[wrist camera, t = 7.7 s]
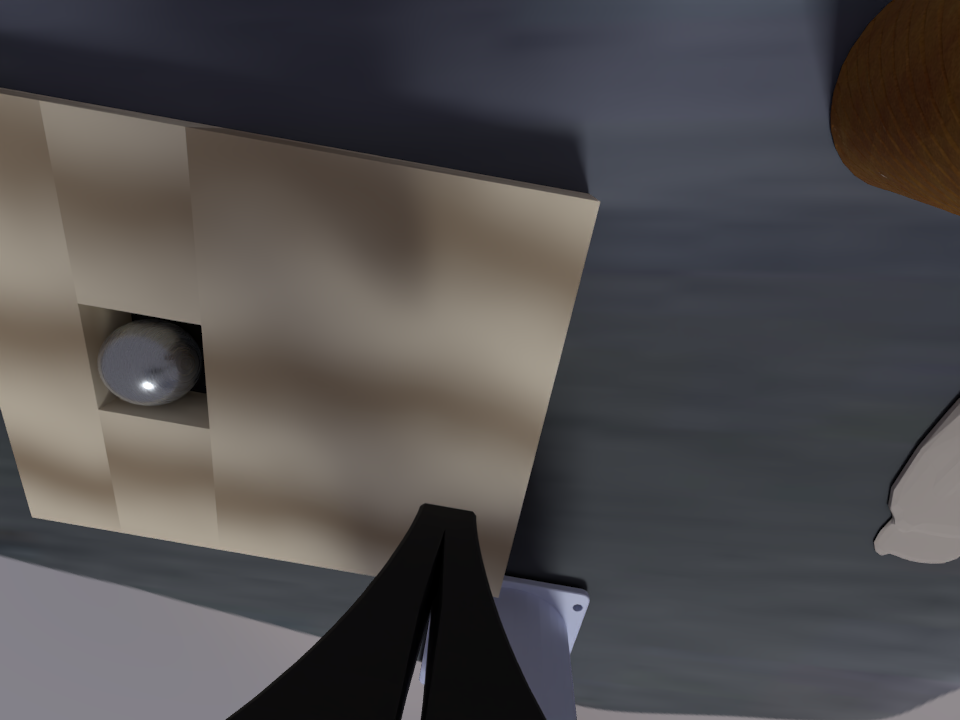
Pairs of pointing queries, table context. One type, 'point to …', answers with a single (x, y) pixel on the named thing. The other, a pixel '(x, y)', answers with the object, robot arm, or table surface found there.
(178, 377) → the steel ball
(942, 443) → the beige bookend
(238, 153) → the birch plate
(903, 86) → the disposable coffee cup
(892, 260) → the table surface
